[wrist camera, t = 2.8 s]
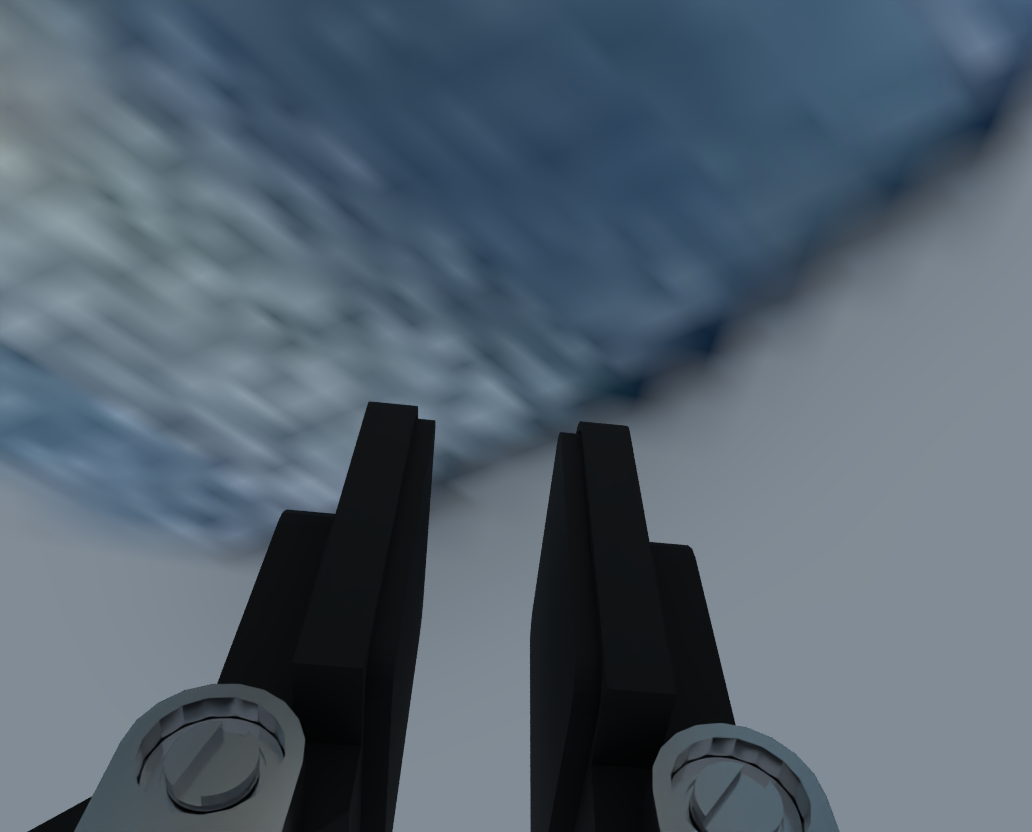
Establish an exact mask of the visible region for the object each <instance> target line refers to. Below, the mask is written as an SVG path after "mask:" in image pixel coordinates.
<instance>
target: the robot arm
mask: <svg viewBox="0 0 1032 832" xmlns="http://www.w3.org/2000/svg"><path fill="white" fill-rule="evenodd" d="M434 440H435V420H425V419H418V406H412V405H401V404H390V403H380V402H369V403H368V405H367V408H366V412H365V415H364V419H363V422H362V425H361V429H360V432H359V436H358V439H357V442H356V446H355V449H354V453H353V456H352V459H351V463H350V466H349V470H348V473H347V477H346V480H345V483H344V487H343V490H342V494H341V497H340V500H339V504H338V507H337V511H336V514H330V513H319V512H308V511H297V510H285V511H284V512H283V513H282V515H281V517H280V519H279V521H278V523H277V526H276V529H275V531H274V534H273V537H272V539H271V542H270V545H269V547H268V550H267V553H266V555H265V558H264V561H263V563H262V566H261V569H260V571H259V574H258V577H257V579H256V582H255V585H254V587H253V590H252V593H251V595H250V598H249V601H248V603H247V606H246V609H245V611H244V614H243V617H242V619H241V622H240V624H239V627H238V630H237V632H236V635H235V638H234V640H233V643H232V646H231V648H230V651H229V654H228V657H227V659H226V662H225V664H224V667H223V670H222V672H221V675H220V678H219V681H218V683H217V684H210V685H206V686H201V687H197V688H193V689H188V690H184V691H182V692H180V693H178V694H176V695H174V696H171V697H169V698H167V699H165V700H163V701H161V702H159V703H157V704H156V705H155V706H154V707H152V708H151V709H150V710H149V711H147V712H146V713H145V714H144V715H142V716H141V717H140V718H138V719H137V720H136V721H135V723H134V724H133V725H132V727H131V728H130V730H129V731H128V732H127V734H126V735H125V737H124V738H123V739H122V741H121V742H120V744H119V746H118V748H117V750H116V752H115V754H114V755H113V757H112V760H111V761H110V763H109V765H108V767H107V769H106V771H105V773H104V775H103V777H102V779H101V781H100V783H99V784H98V786H97V789H96V790H95V793H94V794H93V796H92V797H90V798H88V799H86V800H85V801H83V802H81V803H79V804H77V805H76V806H74V807H72V808H70V809H68V810H67V811H65V812H63V813H61V814H59V815H57V816H56V817H54V818H52V819H50V820H48V821H46V822H45V823H43V824H41V825H39V826H37V827H35V828H34V829H32V830H30V831H28V832H392V830H393V822H394V815H395V809H396V801H397V794H398V787H399V779H400V773H401V765H402V758H403V751H404V744H405V736H406V729H407V722H408V714H409V708H410V700H411V693H412V686H413V679H414V672H415V665H416V658H417V650H418V643H419V636H420V628H421V619H422V609H423V596H424V581H425V568H426V554H427V540H428V525H429V511H430V497H431V483H432V468H433V454H434ZM530 748H531V749H530V752H531V753H530V762H531V763H530V768H531V769H530V770H531V771H530V774H531V775H530V781H531V782H530V783H531V832H839V829H838V826H837V824H836V821H835V818H834V815H833V812H832V810H831V807H830V805H829V802H828V799H827V796H826V795H825V793H824V791H823V789H822V787H821V785H820V783H819V782H818V780H817V778H816V776H815V774H814V773H813V772H812V771H811V770H810V769H809V768H808V767H807V765H806V764H805V763H804V762H803V761H802V760H801V759H800V758H799V757H798V756H797V755H796V754H795V753H794V752H792V751H791V750H789V749H788V748H787V747H785V746H783V745H782V744H781V743H779V742H778V741H776V740H775V739H773V738H772V737H769V736H767V735H764V734H762V733H759V732H757V731H754V730H752V729H750V728H747V727H742V726H736V725H735V721H734V717H733V713H732V708H731V704H730V700H729V696H728V692H727V688H726V683H725V679H724V675H723V671H722V667H721V662H720V658H719V654H718V650H717V646H716V642H715V637H714V633H713V629H712V625H711V621H710V617H709V613H708V608H707V604H706V600H705V596H704V591H703V587H702V583H701V579H700V575H699V571H698V567H697V562H696V558H695V556H694V553H693V550H692V548H690V547H689V546H688V545H678V544H667V543H655V542H649V537H648V532H647V526H646V520H645V514H644V509H643V503H642V498H641V492H640V486H639V481H638V475H637V470H636V464H635V458H634V453H633V447H632V441H631V436H630V431H629V427H628V426H623V425H613V424H602V423H592V422H581V421H580V422H579V424H578V427H577V431H576V434H574V433H563V432H560V434H559V437H558V442H557V448H556V455H555V462H554V469H553V475H552V482H551V489H550V496H549V503H548V509H547V516H546V523H545V530H544V537H543V543H542V550H541V557H540V563H539V570H538V577H537V584H536V591H535V597H534V604H533V611H532V620H531V632H530Z"/></svg>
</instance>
